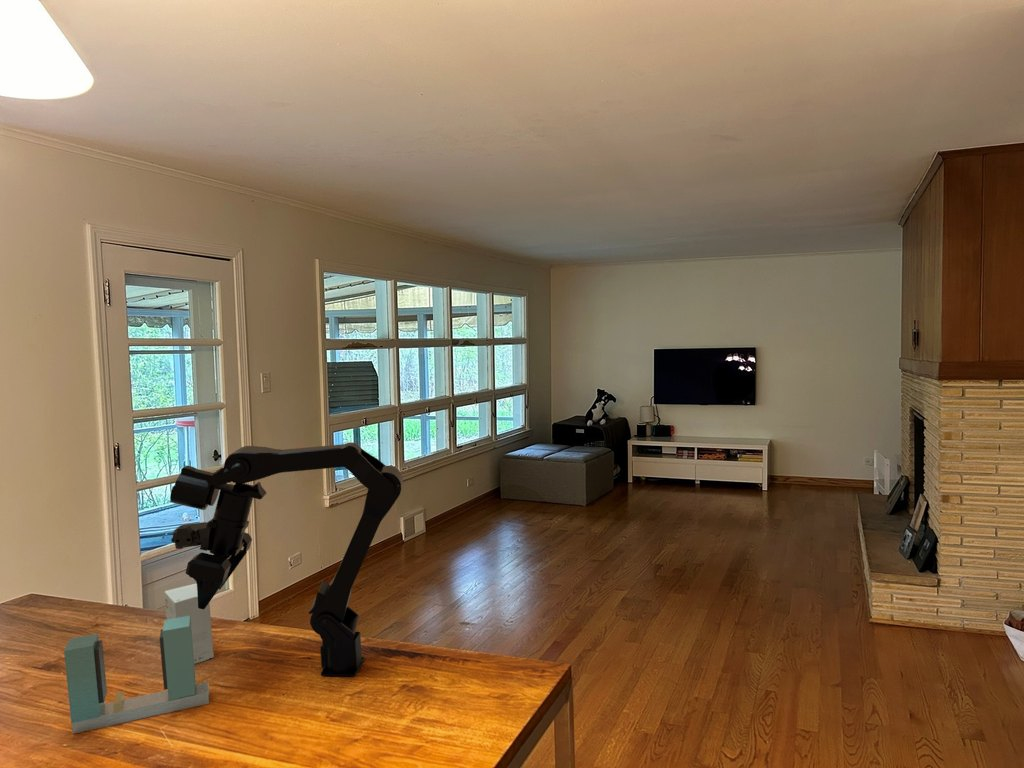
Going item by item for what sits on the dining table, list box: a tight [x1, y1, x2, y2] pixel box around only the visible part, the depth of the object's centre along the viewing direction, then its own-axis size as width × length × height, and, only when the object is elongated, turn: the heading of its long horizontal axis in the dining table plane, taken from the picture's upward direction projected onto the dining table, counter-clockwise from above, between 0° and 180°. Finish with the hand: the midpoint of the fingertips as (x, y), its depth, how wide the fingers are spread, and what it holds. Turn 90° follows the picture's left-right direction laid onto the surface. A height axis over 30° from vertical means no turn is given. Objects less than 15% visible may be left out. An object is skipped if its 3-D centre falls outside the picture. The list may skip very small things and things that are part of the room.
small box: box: [164, 583, 215, 665], centre depth 137 cm, size 8×6×13 cm
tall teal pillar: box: [159, 616, 197, 700], centre depth 119 cm, size 5×5×12 cm
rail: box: [63, 633, 210, 735], centre depth 117 cm, size 20×5×14 cm, turn 112°
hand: (209, 598), depth 126 cm, fingers open, 9 cm apart
